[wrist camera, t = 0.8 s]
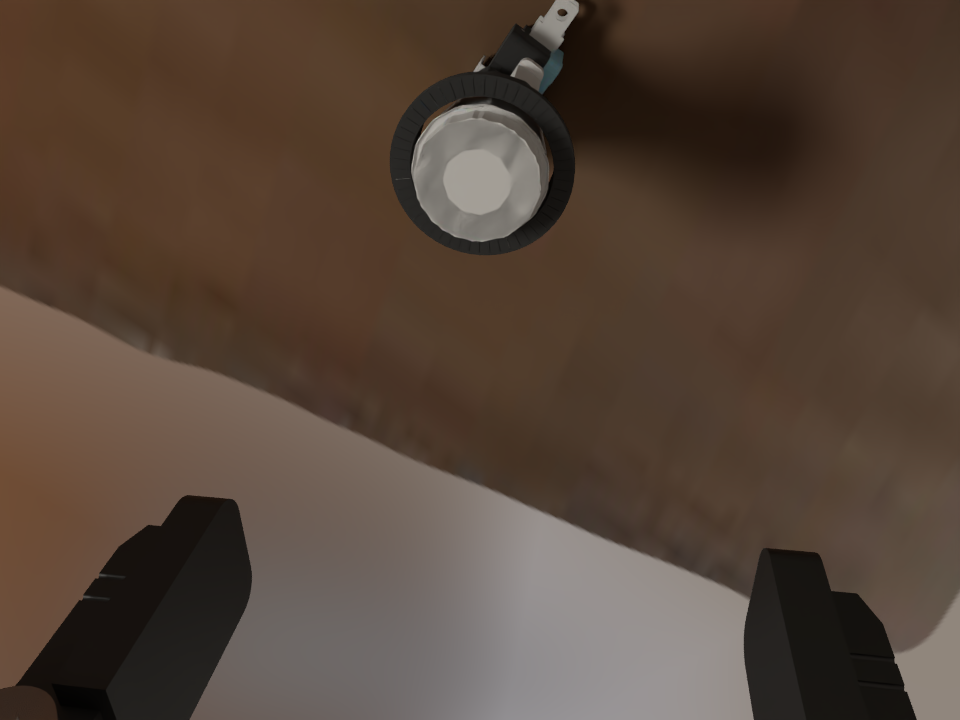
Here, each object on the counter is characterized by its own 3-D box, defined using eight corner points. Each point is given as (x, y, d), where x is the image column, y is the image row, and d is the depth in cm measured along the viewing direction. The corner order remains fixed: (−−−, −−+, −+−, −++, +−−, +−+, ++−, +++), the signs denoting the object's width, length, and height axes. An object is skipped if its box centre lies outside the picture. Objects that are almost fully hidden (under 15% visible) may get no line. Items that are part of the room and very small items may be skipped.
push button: (512, -51, 29) (477, -6, 20) (632, 42, 30) (647, 122, 21) (413, 105, 32) (348, 200, 24) (525, 184, 33) (501, 301, 25)
